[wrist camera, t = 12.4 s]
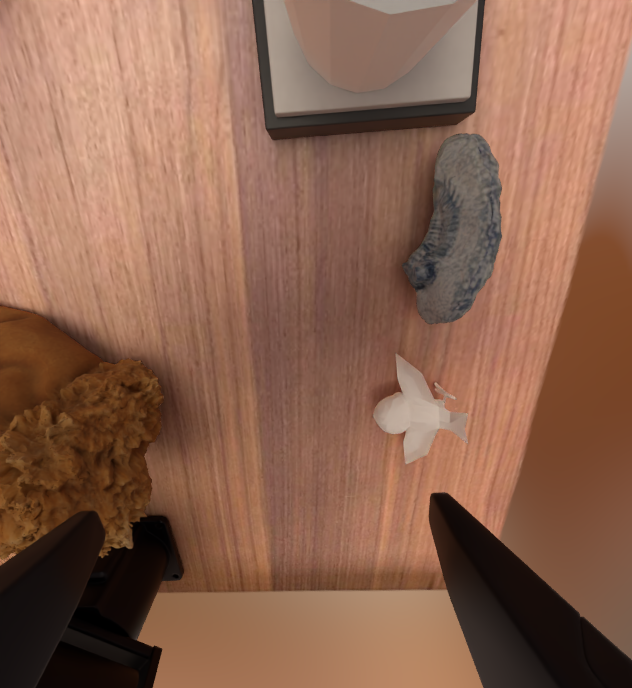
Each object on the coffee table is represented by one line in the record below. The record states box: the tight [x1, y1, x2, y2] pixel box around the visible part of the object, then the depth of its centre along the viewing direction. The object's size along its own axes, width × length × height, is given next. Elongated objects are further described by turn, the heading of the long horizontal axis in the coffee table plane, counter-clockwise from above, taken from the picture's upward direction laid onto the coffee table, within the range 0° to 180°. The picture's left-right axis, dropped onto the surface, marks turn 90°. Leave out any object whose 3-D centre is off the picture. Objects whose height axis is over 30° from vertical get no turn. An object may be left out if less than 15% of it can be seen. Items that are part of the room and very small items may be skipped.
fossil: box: [402, 133, 502, 324], centre depth 15 cm, size 8×4×5 cm, turn 178°
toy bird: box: [373, 353, 468, 464], centre depth 19 cm, size 8×5×5 cm, turn 10°
